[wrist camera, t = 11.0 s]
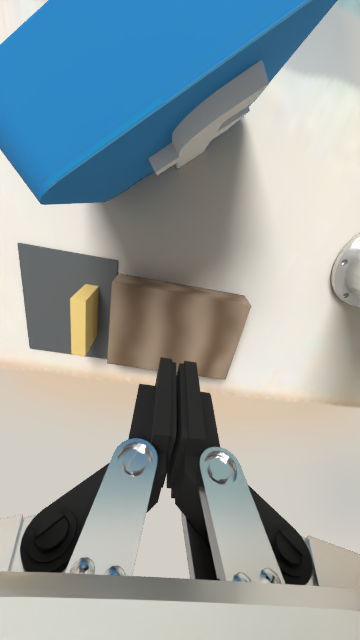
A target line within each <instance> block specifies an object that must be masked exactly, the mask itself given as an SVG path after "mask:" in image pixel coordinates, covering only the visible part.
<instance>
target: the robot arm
mask: <svg viewBox="0 0 360 640" xmlns="http://www.w3.org/2000/svg"><path fill="white" fill-rule="evenodd" d="M331 279H332V287H333V290H334V292H335V293H336V295H337V296H338V297H339V298H340V299H341V300H342V301H344V302H345V303H347V304H349V305H351V306H355V307H360V233H359V234H358V235H357V236H355V237H354V238H353V239H352V240H351V241H350V242H349V243H348V244H347V245H346V246H345V247H344V248H343V250H342V251H341V252H340V254H339V255H338V257H337V259H336V261H335V264H334V267H333V270H332V277H331ZM166 474H167V488H171V498H175V504H176V505H177V506H178V507H179V509H180V510H181V511H182V525H183V532H184V539H185V546H186V552H187V560H188V567H189V574H190V579H179V578H159V577H140V576H132V574H133V570H134V565H135V561H136V556H137V552H138V547H139V543H140V538H141V534H142V529H143V525H144V520H145V516H146V513H147V512H148V511H149V510H150V509H151V508H152V507H153V506H154V505H155V504H156V503H157V502H158V499H159V495H160V491H161V487H163V485H164V481H165V477H166ZM0 640H360V554H358V553H355V552H352V551H350V550H347V549H344V548H341V547H339V546H336V545H333V544H330V543H327V542H325V541H322V540H319V539H316V538H314V537H311V536H307V538H304V537H302V536H300V535H299V533H298V532H297V531H296V530H295V529H294V528H293V527H292V526H291V525H290V524H289V523H288V522H287V521H286V520H285V519H284V518H282V517H281V516H280V515H279V514H278V513H277V512H276V511H275V510H274V509H273V508H272V507H271V506H270V505H269V504H268V503H267V502H265V501H264V500H263V499H262V498H261V497H260V496H259V495H258V494H257V493H256V492H255V491H254V490H253V489H252V488H251V487H250V486H249V485H248V484H247V482H246V479H245V477H244V474H243V471H242V469H241V466H240V464H239V462H238V460H237V459H236V458H235V457H234V455H233V454H231V453H230V452H229V451H227V450H226V449H223V448H221V447H220V444H219V439H218V433H217V428H216V422H215V416H214V410H213V405H212V399H211V395H210V393H205V392H200V386H199V378H198V370H197V363H196V362H191V361H184V363H179V367H178V371H177V376H176V362H172V359H170V358H163V357H160V362H159V367H158V373H157V378H156V384H155V386H152V385H144V384H139V388H138V394H137V399H136V404H135V409H134V414H133V420H132V424H131V429H130V434H129V439H128V440H126V441H124V442H122V443H121V444H120V445H119V446H118V447H117V449H116V450H115V452H114V454H113V456H112V459H111V461H110V463H108V464H107V465H106V466H104V467H103V468H101V469H100V470H99V471H97V472H96V473H94V474H93V475H91V476H90V477H89V478H87V479H86V480H84V481H83V482H82V483H80V484H79V485H77V486H76V487H75V488H73V489H72V490H70V491H69V492H67V493H66V494H65V495H63V496H62V497H60V498H59V499H58V500H56V501H55V502H53V503H52V504H50V505H49V506H48V507H46V508H45V509H43V510H42V511H41V512H40V513H39V514H37V515H34V516H30V517H24V518H23V515H17V516H12V517H7V518H1V519H0Z"/></svg>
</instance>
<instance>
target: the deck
mask: <svg viewBox="0 0 360 640" xmlns="http://www.w3.org/2000/svg"><path fill="white" fill-rule="evenodd" d="M250 308H251V305H250V303H249V302H248V300H247V299H246V298H245V296H243V295H238V294H232V293H226V292H220V291H215V290H209V289H203V288H197V287H191V286H186V285H180V284H174V283H168V282H163V281H157V280H151V279H145V278H140V277H134V276H128V275H122V274H118V275H117V276H116V277H115V279H114V280H113V281H112V291H111V308H110V324H109V341H108V357H107V363H108V364H116V365H123V366H130V367H137V368H145V369H152V370H158V367H159V362H160V357H163V358H170V359H172V362H176V373H177V371H178V367H179V363H184V361H191V362H196V363H197V370H198V376H203V377H211V378H218V379H226V376H227V373H228V371H229V368H230V365H231V362H232V359H233V356H234V353H235V351H236V348H237V345H238V342H239V339H240V336H241V333H242V330H243V328H244V325H245V322H246V319H247V316H248V313H249V310H250Z"/></svg>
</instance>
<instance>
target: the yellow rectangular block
mask: <svg viewBox="0 0 360 640" xmlns="http://www.w3.org/2000/svg"><path fill="white" fill-rule="evenodd" d="M98 293H99V286H95V285H89V284H85V285H84V286H83V287H82V288H81V289H80V290H79V291H78V292H76V293H75V294H74V295H73V296H72V297H71V298H70V315H71V354H72V355H79V356H86V354H87V353H88V351H89V349H90V347H91V346H92V344H93V342H94V340H95V339H96V337H97V325H98Z"/></svg>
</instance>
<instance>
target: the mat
mask: <svg viewBox="0 0 360 640" xmlns="http://www.w3.org/2000/svg"><path fill="white" fill-rule="evenodd" d="M18 251H19V260H20V268H21V277H22V285H23V294H24V303H25V311H26V320H27V329H28V337H29V346H30V348H32V349H39V350H46V351H54V352H61V353H68V354H71V315H70V298H71V297H72V296H73V295H74V294H75V293H76V292H78V291H79V290H80V289H81V288H82V287H83V286H84V285H85V284H89V285H95V286H99V293H98V325H97V337H96V339H95V340H94V342H93V344H92V346H91V347H90V349H89V351H88V353H87V354H86V356H90V357H97V358H104V359H107V357H108V341H109V324H110V308H111V291H112V281H113V280H114V279H115V277H116V276H117V266H118V261H117V260H112V259H106V258H101V257H95V256H90V255H84V254H78V253H73V252H67V251H62V250H56V249H50V248H45V247H39V246H34V245H28V244H22V243H18Z"/></svg>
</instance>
